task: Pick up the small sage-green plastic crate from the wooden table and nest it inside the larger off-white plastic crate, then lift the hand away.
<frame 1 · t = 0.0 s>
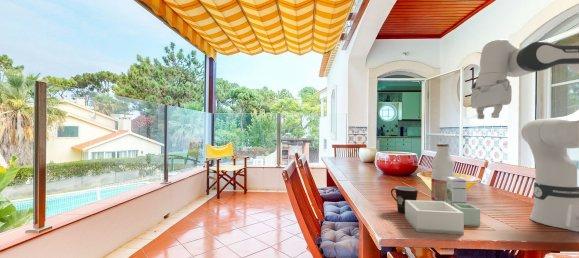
hand: (487, 118, 103), 39 cm above the table, tool pointing down, fingers open, 8 cm apart
small crate: (465, 222, 100), on the table
fruit juice: (442, 205, 122), on the table
syrup box: (456, 213, 111), on the table
coffee mug: (404, 212, 112), on the table
crate: (431, 225, 96), on the table
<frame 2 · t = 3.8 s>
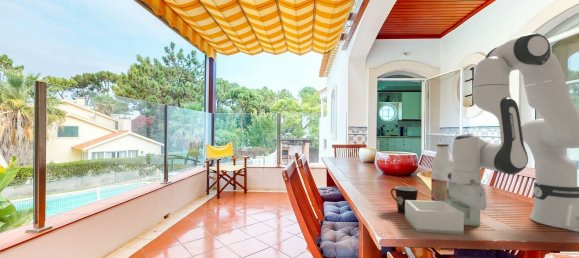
hand: (465, 215, 100), 3 cm above the table, tool pointing down, fingers closed on small crate, 6 cm apart
small crate: (465, 222, 100), on the table, touching gripper
everything else where it was.
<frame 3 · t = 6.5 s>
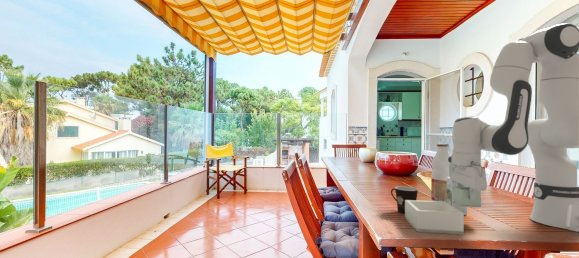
hand: (466, 197, 100), 9 cm above the table, tool pointing down, fingers closed on small crate, 6 cm apart
small crate: (466, 204, 100), point 7 cm above the table, touching gripper
everything else where it was.
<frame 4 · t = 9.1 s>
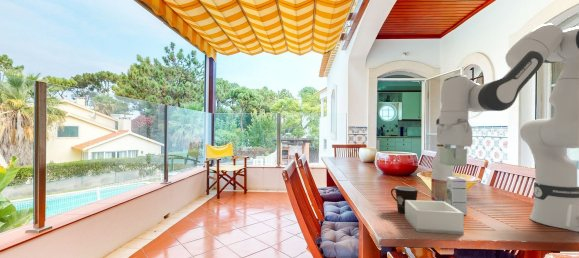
hand: (452, 157, 98), 24 cm above the table, tool pointing down, fingers closed on small crate, 6 cm apart
small crate: (452, 164, 98), point 21 cm above the table, touching gripper
everything else where it was.
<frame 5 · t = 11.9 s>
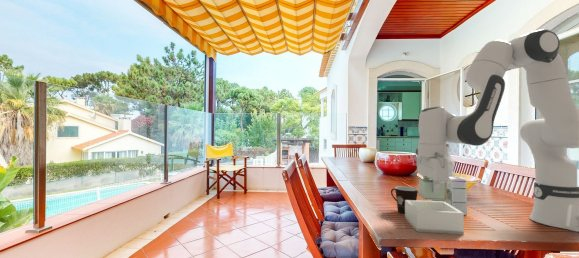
hand: (431, 190, 96), 13 cm above the table, tool pointing down, fingers closed on small crate, 6 cm apart
small crate: (431, 197, 96), point 10 cm above the table, touching gripper
everything else where it was.
when the fingers open (5 cm above the table, at t = 14.3 s): small crate drops 1 cm, resting on crate.
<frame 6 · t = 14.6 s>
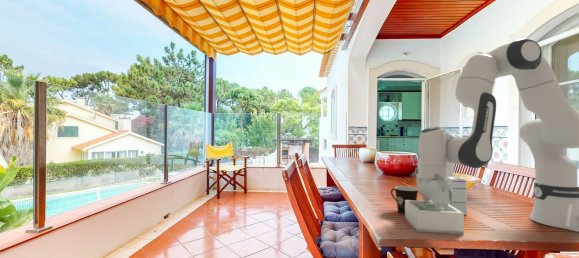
hand: (431, 211, 96), 5 cm above the table, tool pointing down, fingers open, 8 cm apart
small crate: (431, 222, 96), point 1 cm above the table, touching crate
everything else where it was.
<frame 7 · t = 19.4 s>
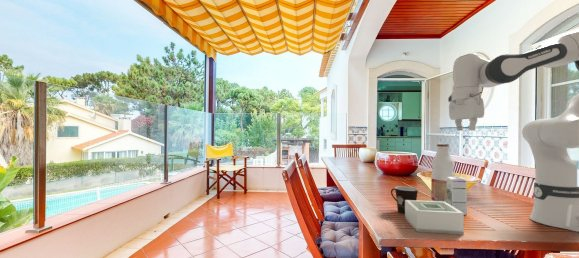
hand: (465, 130, 106), 34 cm above the table, tool pointing down, fingers open, 8 cm apart
nothing on the table moved.
at the end: small crate 0.0 cm off-centre on the crate, point 1.0 cm above the crate's base; small crate tilted 0°; the gripper is holding nothing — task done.
